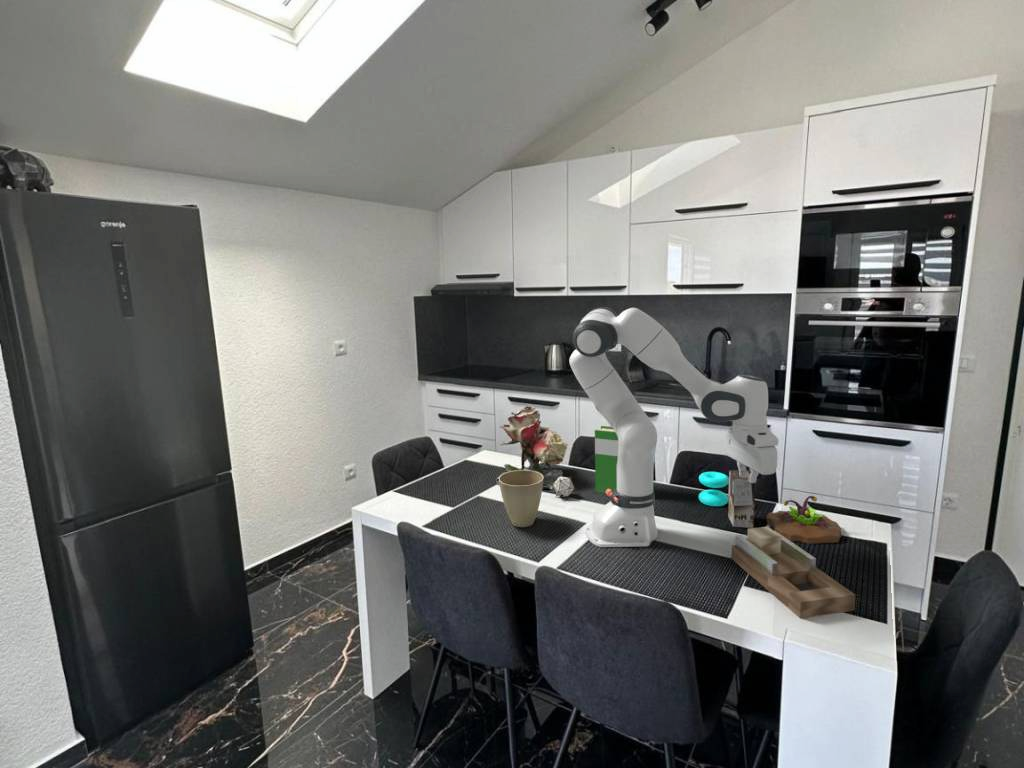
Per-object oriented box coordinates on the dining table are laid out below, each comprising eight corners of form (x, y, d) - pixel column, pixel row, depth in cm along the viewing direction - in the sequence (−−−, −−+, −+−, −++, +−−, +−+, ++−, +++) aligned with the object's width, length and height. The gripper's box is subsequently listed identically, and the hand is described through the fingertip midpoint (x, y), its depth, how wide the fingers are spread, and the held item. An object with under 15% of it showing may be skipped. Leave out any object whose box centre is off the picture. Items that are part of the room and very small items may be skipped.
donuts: (727, 471, 193) (730, 481, 183) (727, 497, 195) (729, 508, 185) (698, 469, 196) (699, 479, 186) (697, 495, 197) (699, 506, 188)
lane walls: (771, 575, 135) (772, 563, 134) (735, 545, 151) (735, 535, 150) (815, 569, 136) (816, 558, 136) (774, 540, 153) (774, 530, 152)
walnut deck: (799, 618, 124) (800, 602, 123) (731, 558, 151) (731, 545, 151) (854, 610, 126) (855, 594, 125) (776, 553, 153) (777, 540, 153)
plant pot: (493, 519, 183) (490, 475, 181) (531, 510, 190) (529, 467, 187) (513, 536, 170) (511, 488, 168) (553, 525, 177) (552, 479, 174)
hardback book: (595, 491, 206) (594, 430, 202) (602, 485, 212) (601, 425, 208) (641, 498, 197) (641, 434, 193) (646, 491, 203) (647, 430, 199)
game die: (568, 505, 203) (584, 484, 201) (558, 505, 196) (575, 483, 194) (552, 489, 208) (568, 469, 206) (542, 488, 200) (558, 467, 199)
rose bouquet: (564, 491, 207) (562, 415, 202) (491, 486, 215) (488, 413, 210) (575, 469, 231) (573, 401, 226) (509, 466, 239) (507, 400, 234)
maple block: (760, 555, 144) (760, 538, 144) (747, 545, 150) (747, 528, 149) (780, 553, 145) (781, 535, 144) (766, 543, 151) (767, 526, 150)
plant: (852, 546, 156) (855, 510, 154) (780, 543, 160) (782, 507, 158) (825, 518, 176) (828, 485, 174) (762, 515, 179) (763, 483, 177)
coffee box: (754, 528, 170) (756, 479, 167) (732, 527, 171) (734, 478, 168) (747, 516, 178) (749, 469, 176) (727, 515, 180) (728, 469, 177)
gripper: (719, 424, 161) (718, 468, 163) (760, 443, 141) (758, 493, 143) (738, 422, 161) (737, 467, 164) (782, 441, 142) (780, 491, 144)
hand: (747, 479), depth 153 cm, fingers open, 3 cm apart
